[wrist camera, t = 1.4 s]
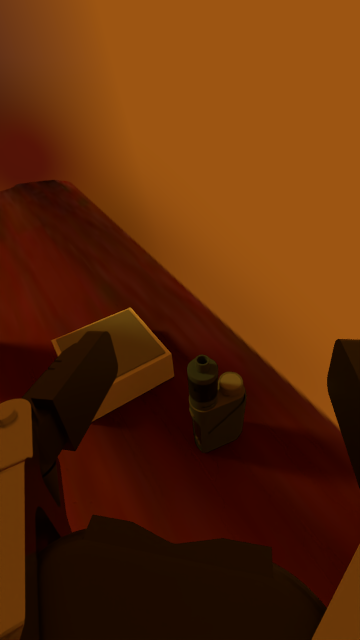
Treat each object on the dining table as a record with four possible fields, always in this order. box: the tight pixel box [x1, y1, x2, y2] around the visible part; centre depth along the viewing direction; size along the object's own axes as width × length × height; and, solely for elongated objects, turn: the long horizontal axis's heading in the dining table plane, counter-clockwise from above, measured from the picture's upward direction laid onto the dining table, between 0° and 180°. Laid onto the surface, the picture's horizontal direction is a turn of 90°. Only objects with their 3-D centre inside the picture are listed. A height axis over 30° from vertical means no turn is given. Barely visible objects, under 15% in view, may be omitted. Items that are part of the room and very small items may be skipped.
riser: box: [51, 308, 174, 421], centre depth 35 cm, size 11×11×4 cm
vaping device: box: [187, 355, 247, 453], centre depth 25 cm, size 3×5×12 cm, turn 111°
